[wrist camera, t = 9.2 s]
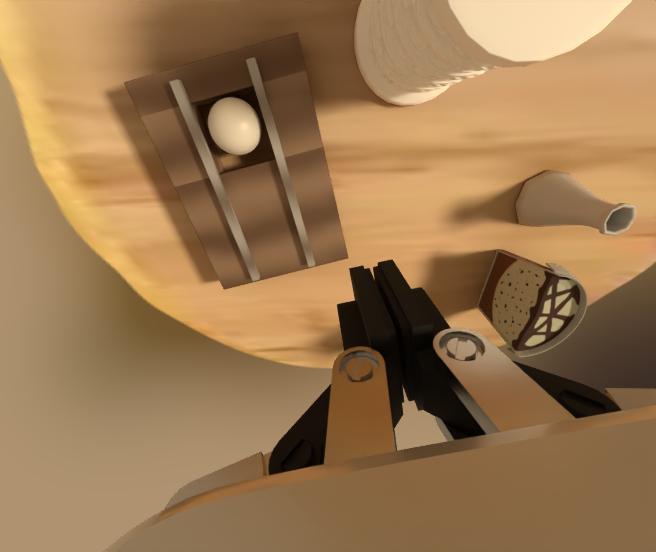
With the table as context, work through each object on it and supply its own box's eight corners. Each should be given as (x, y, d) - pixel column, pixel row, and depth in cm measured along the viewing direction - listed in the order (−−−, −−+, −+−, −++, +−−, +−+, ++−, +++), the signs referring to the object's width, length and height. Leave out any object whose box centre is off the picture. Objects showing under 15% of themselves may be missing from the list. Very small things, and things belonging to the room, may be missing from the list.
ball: (192, 92, 25) (204, 148, 25) (246, 79, 24) (258, 136, 25) (216, 119, 30) (227, 166, 30) (261, 108, 29) (271, 156, 30)
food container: (510, 314, 44) (562, 360, 35) (473, 314, 43) (517, 360, 34) (542, 240, 38) (614, 272, 29) (500, 238, 38) (561, 270, 29)
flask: (562, 221, 37) (643, 247, 28) (509, 230, 37) (573, 260, 28) (576, 164, 34) (672, 174, 25) (517, 175, 34) (593, 188, 25)
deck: (141, 87, 27) (118, 80, 24) (298, 42, 27) (297, 29, 23) (229, 278, 37) (222, 292, 34) (345, 249, 37) (349, 260, 33)
